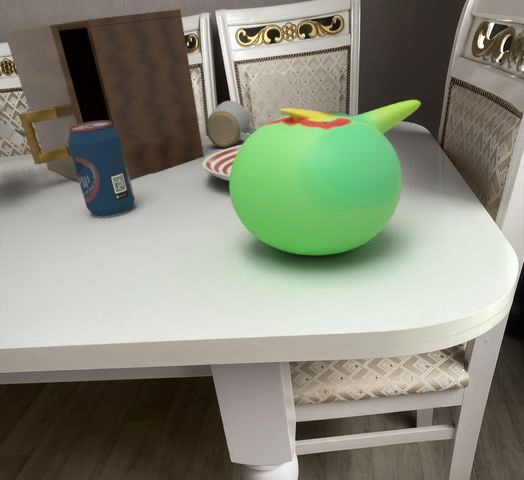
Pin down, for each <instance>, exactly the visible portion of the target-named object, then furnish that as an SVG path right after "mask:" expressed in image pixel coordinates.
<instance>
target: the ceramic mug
mask: <svg viewBox="0 0 524 480" xmlns="http://www.w3.org/2000/svg"><path fill="white" fill-rule="evenodd" d="M250 123H251V121H250V115H249V113H248V112H247V109H246V108H245V107H244V106H243V105H242V104H241V103H239V102H237V101H235V100H226V101H222V102H221V103H219V104H218V105H217V107H216V108H214V110H212V112H211V113H210V114H209V116H208V118H207V121H206V125H205V131H206V135H207V137H208V139H209V140H210V142H212V144H213V145H215V146H217V147H219V148H224V149H226V148H231V147H234V146H236V144H237V143H238V142H240V141H242V142H243V143H244V142H245V141H246V140H247V138H248V137H249V136H250V135H251V134H253V133H254V132H255V131H256V130H257V129H258V128H256V127H255V126H253V125H251V124H250Z"/></svg>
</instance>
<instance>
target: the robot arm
mask: <svg viewBox="0 0 524 480" xmlns="http://www.w3.org/2000/svg"><path fill="white" fill-rule="evenodd" d="M4 110H5V105H4V104H3V103H2V102H0V138H1V139H4V140H7V141H8V142H10V143H12V144H13V145H16V146H17V147H19V146H21V145H22V143H23V142H24V140H25V138H26V135H25V132H23V131H21V130H19V129H18V128H17V127H15V126H14V125H13V124H12V123H11V122H10V121H8V120H7V119H6V118H5V117H3V116H2V115H3V112H4Z"/></svg>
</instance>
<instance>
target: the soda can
mask: <svg viewBox="0 0 524 480" xmlns="http://www.w3.org/2000/svg"><path fill="white" fill-rule="evenodd" d="M69 131H70V134H69V139H68V144H69V148H70V151H71V155H72V158H73V162H74V165H75V169H76V172H77V175H78V179H79V182H80V183H79V186H80V189H81V193H82V196H83V199H84V202H85V206H86V209H87V210H88V211H89V213H91V214H92V215H93V216H94V217H96V218H100V219H101V218H104V219H105V218H106V219H107V218H113V217H117V216H121V215H125V214H126V213H129V212H130V211H132V209H133V208H134V203H135V199H136V198H135V195H134V190H133V186H132V182H131V180H130V178H129V173H128V169H127V165H126V161H125V157H124V153H123V149H122V144H121V140H120V136H119V134H118V132H117V131H116V130H115V128H114V127H113V126H112V122H111V121H107V120H103V121H92V122H86V123H81V124H77V125H74V126H71V127H69Z"/></svg>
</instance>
